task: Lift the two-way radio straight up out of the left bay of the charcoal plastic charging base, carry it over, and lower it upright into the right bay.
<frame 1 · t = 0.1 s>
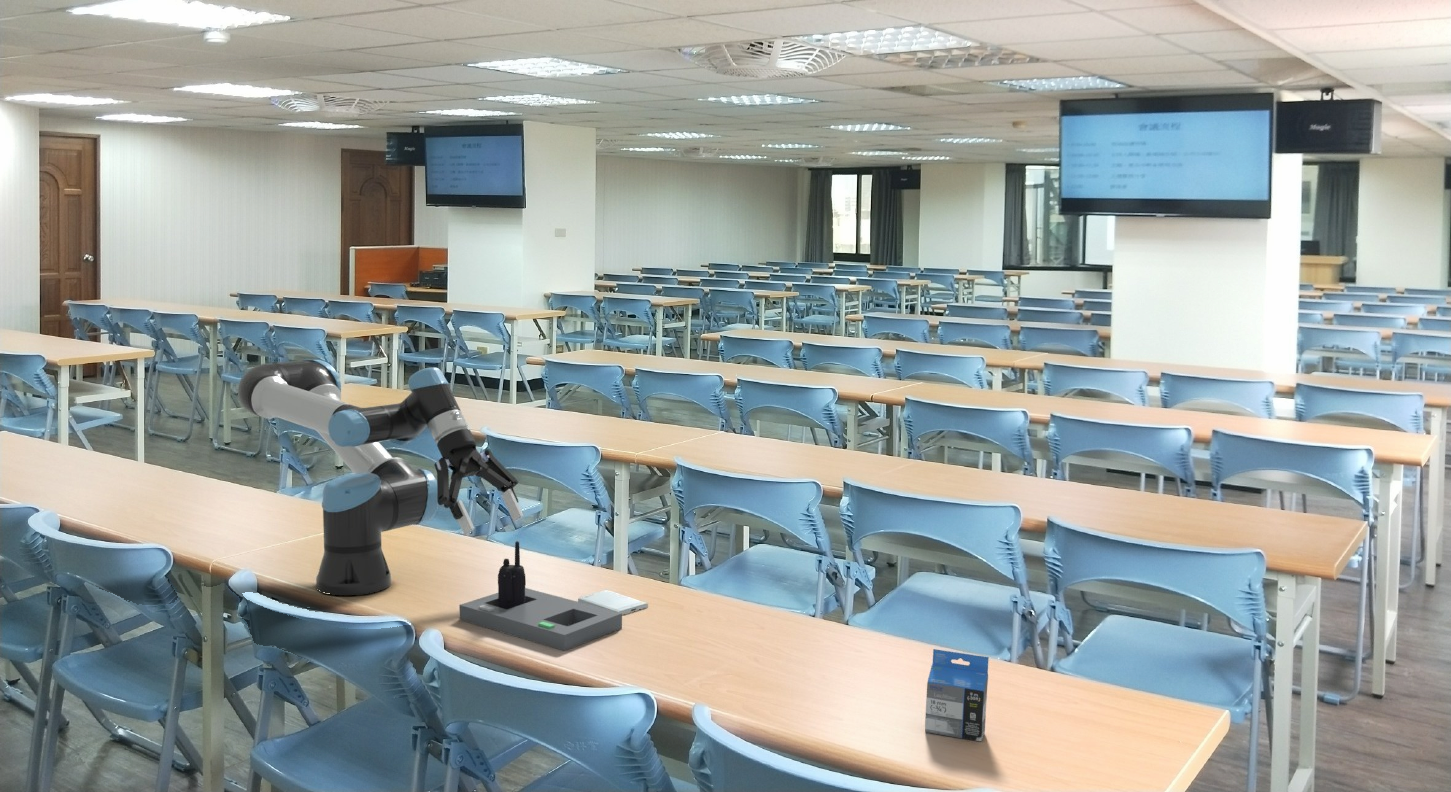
hand: (494, 525, 247), 15 cm above the table, tool tilted 35°, fingers open, 13 cm apart
two-way radio: (511, 616, 238), resting in charging base
label tape cartridge: (954, 734, 186), on the table
hard drive: (612, 608, 246), on the table
charging base: (540, 623, 233), on the table
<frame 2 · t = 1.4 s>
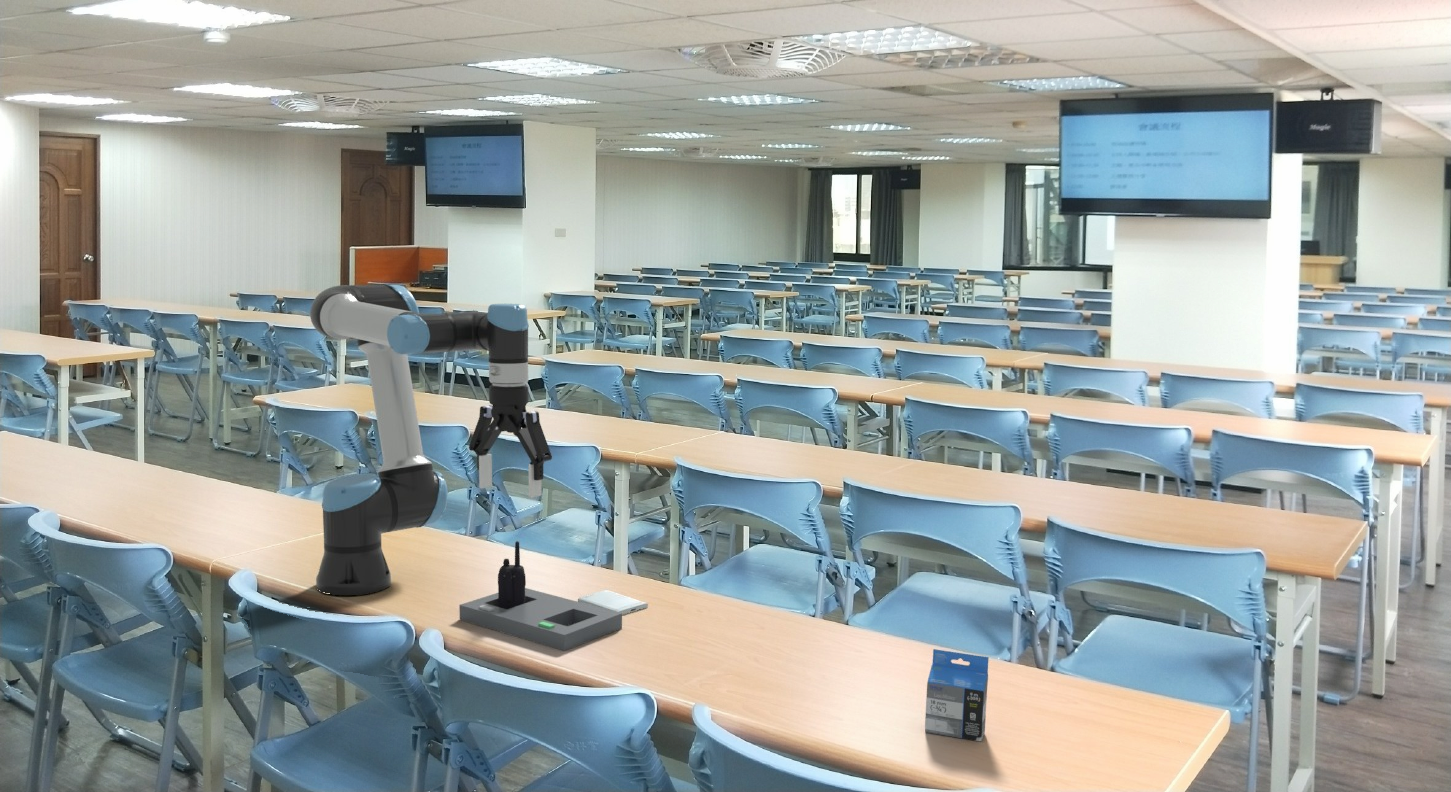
hand: (510, 491, 234), 25 cm above the table, tool pointing down, fingers open, 13 cm apart
nothing on the table moved.
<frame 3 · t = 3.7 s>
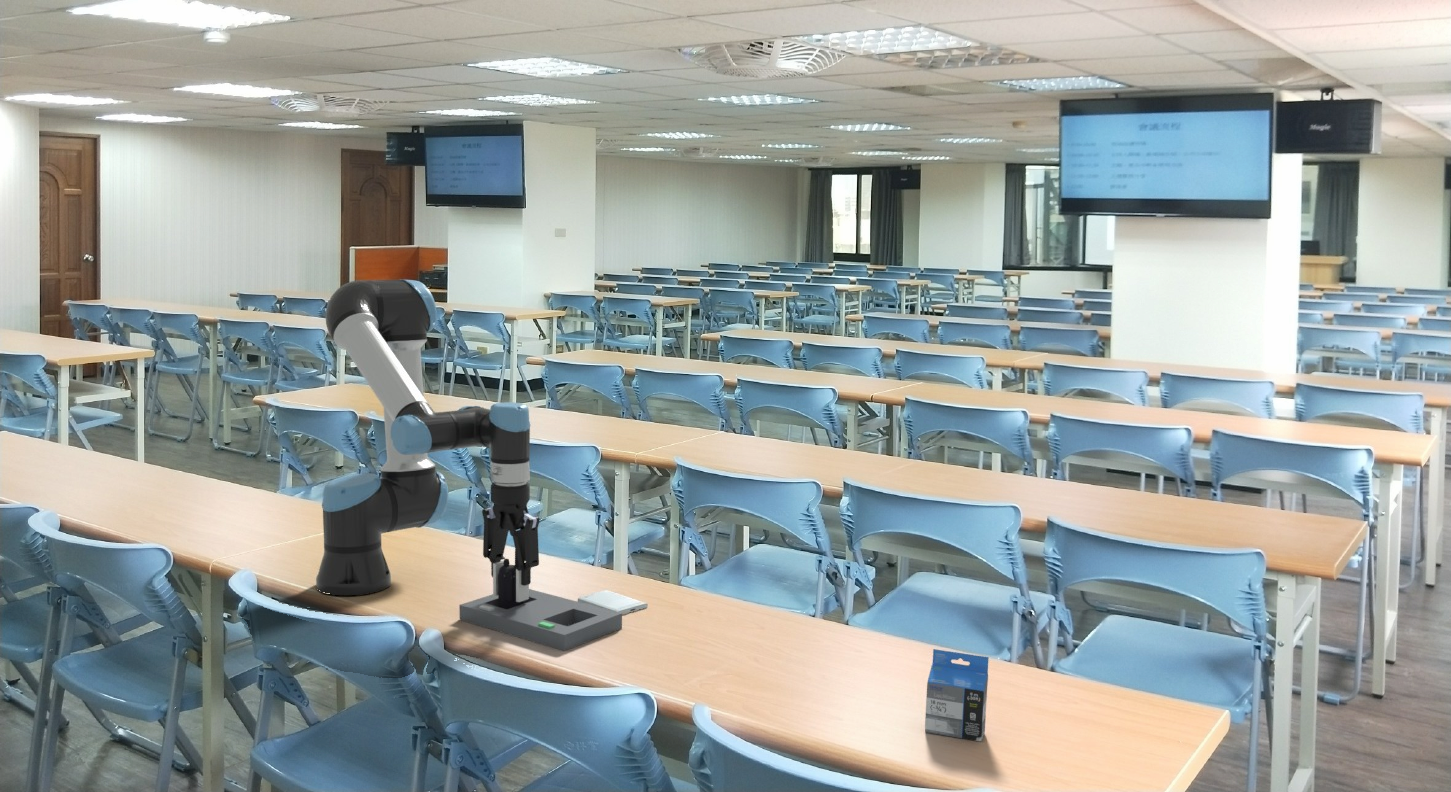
hand: (510, 596, 237), 4 cm above the table, tool pointing down, fingers open, 6 cm apart
two-way radio: (511, 616, 238), resting in charging base, touching gripper
everything else where it was.
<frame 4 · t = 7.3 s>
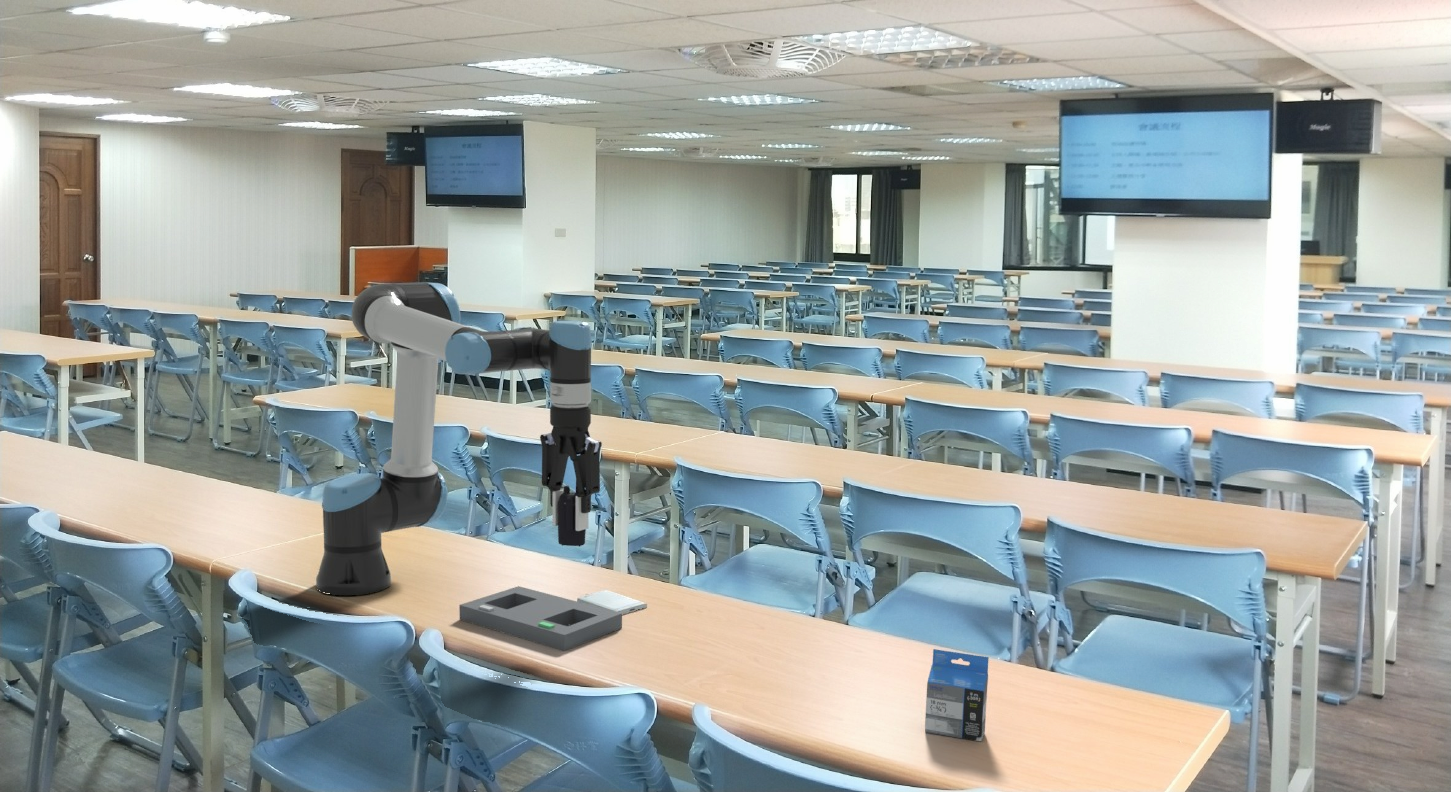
hand: (570, 526, 225), 21 cm above the table, tool pointing down, fingers closed on two-way radio, 5 cm apart
two-way radio: (571, 546, 226), point 17 cm above the table, touching gripper
everything else where it was.
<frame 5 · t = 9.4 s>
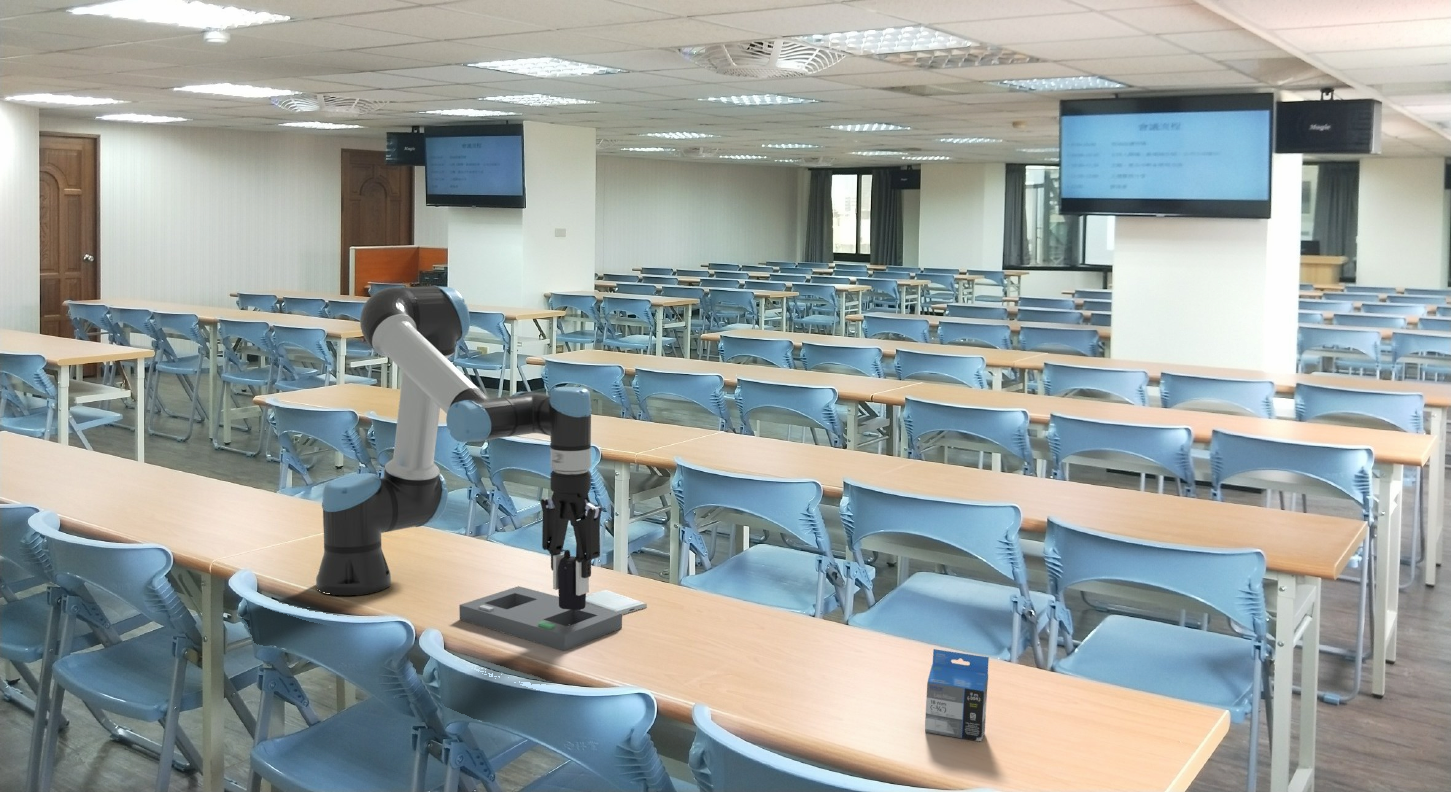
hand: (570, 590, 227), 8 cm above the table, tool pointing down, fingers closed on two-way radio, 5 cm apart
two-way radio: (571, 610, 228), point 4 cm above the table, touching gripper
everything else where it was.
when the fingers open (5 cm above the table, at t = 10.8 s): two-way radio drops 1 cm, resting in charging base.
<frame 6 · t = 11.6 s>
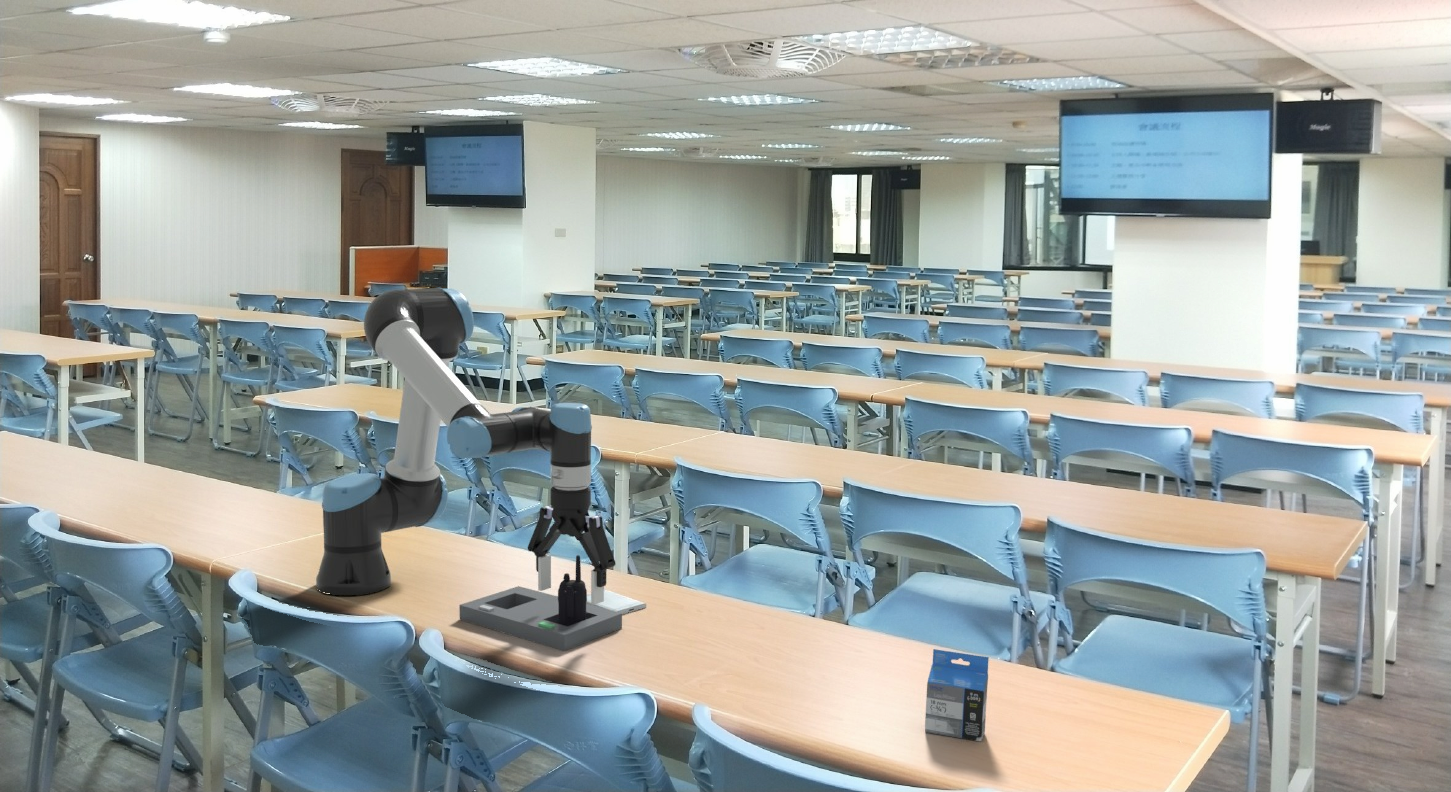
hand: (570, 596, 227), 7 cm above the table, tool pointing down, fingers open, 13 cm apart
two-way radio: (571, 633, 228), resting in charging base
everything else where it was.
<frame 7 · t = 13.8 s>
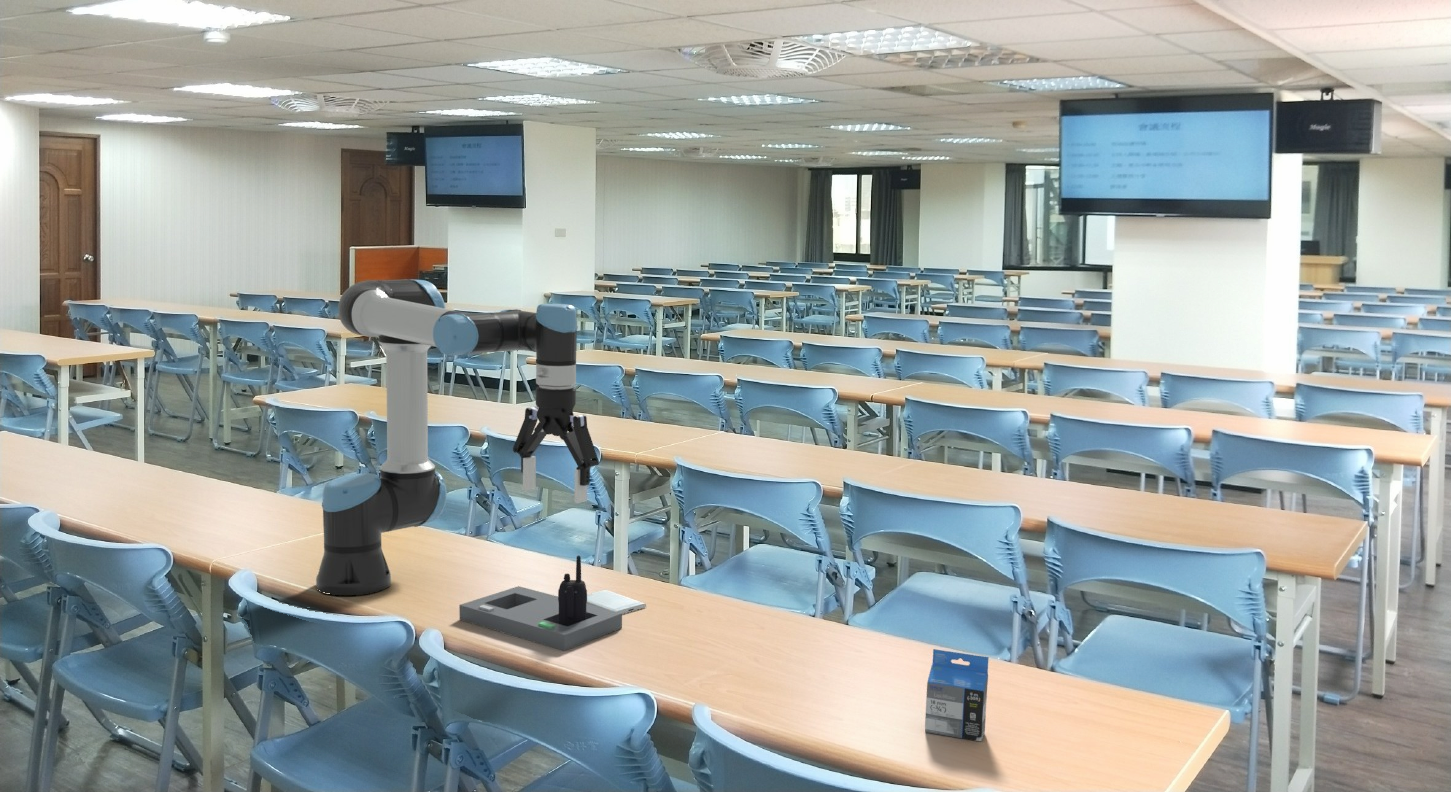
hand: (554, 496, 229), 25 cm above the table, tool pointing down, fingers open, 13 cm apart
nothing on the table moved.
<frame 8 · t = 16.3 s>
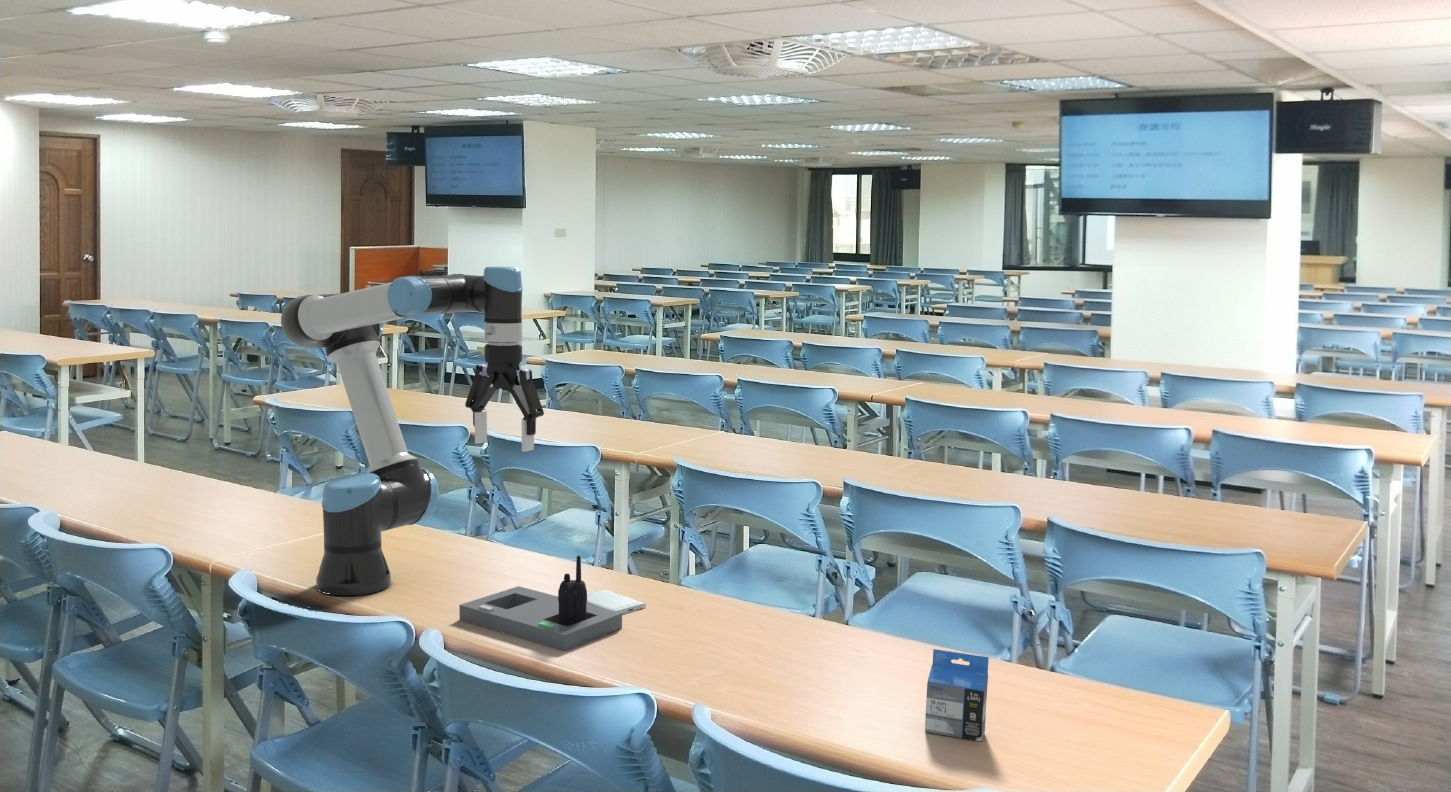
hand: (504, 446, 245), 32 cm above the table, tool pointing down, fingers open, 13 cm apart
nothing on the table moved.
at the end: two-way radio 0.4 cm from the target spot on the charging base, point 0.0 cm above the charging base's base; two-way radio tilted 0°; the gripper is holding nothing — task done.
